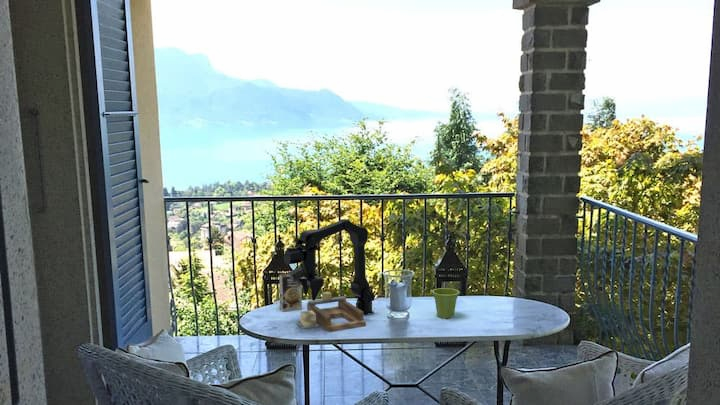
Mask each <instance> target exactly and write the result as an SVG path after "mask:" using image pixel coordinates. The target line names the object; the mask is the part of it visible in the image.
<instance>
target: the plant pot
mask: <svg viewBox="0 0 720 405" xmlns="http://www.w3.org/2000/svg"><path fill="white" fill-rule="evenodd" d="M431 292H432V294H433V297H434V301H435V302H434V303H435V308H436V315H437V317H439V318H442V319H448V318H449V319H450V318H453V317H454V316H455V311H456V304H457V299H458V297H459V296H458V295H459V294H460V291H459V290H458V289H455V288H448V287H444V288H443V287H441V288H439V287H438V288H434V289H432V291H431Z"/></svg>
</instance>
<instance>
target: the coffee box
mask: <svg viewBox="0 0 720 405" xmlns="http://www.w3.org/2000/svg"><path fill="white" fill-rule="evenodd" d="M302 292H303V288H302V285H301V282H300V281H299V280H297V281H293V280H291V278H290V275H289V273H279V309H280V310H281V312H292V311H300V310H303V309H302V308H303V304H302V303H303V302H302V300H303V299H302V297H303V296H302Z"/></svg>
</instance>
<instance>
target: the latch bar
mask: <svg viewBox="0 0 720 405" xmlns="http://www.w3.org/2000/svg"><path fill="white" fill-rule="evenodd" d="M307 301H308V302H307V303H308V304H310V305H315V306H317V305H323V304H330V303H331V304H332V303H338V302H339V301H347V297H346V296H344V295H342V296H336V297H333V294H332V292H330V291H324V292H322V298H320V299H315V300H312V299H311V300H307Z"/></svg>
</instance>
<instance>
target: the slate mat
mask: <svg viewBox="0 0 720 405" xmlns="http://www.w3.org/2000/svg"><path fill="white" fill-rule="evenodd" d="M296 325H297V326H299V327H300V328H301V329H302V330H307V329H313V328H318V327H321V326H320V325H319V324H318V323H317V322H316V325H314V326H307V327H304V326H303V325H302V324H301V321H300V322H296Z"/></svg>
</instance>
